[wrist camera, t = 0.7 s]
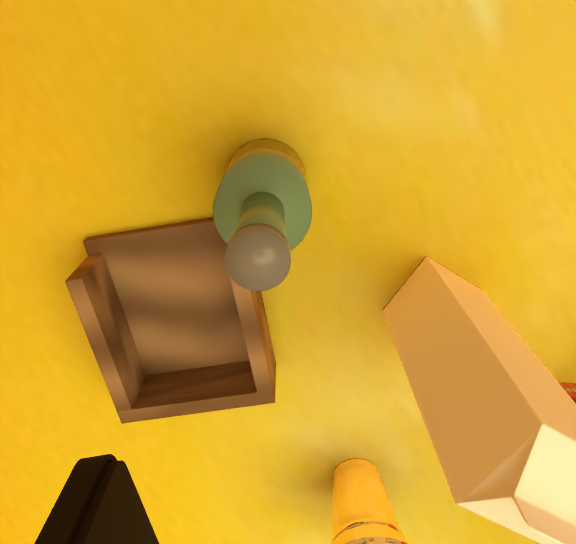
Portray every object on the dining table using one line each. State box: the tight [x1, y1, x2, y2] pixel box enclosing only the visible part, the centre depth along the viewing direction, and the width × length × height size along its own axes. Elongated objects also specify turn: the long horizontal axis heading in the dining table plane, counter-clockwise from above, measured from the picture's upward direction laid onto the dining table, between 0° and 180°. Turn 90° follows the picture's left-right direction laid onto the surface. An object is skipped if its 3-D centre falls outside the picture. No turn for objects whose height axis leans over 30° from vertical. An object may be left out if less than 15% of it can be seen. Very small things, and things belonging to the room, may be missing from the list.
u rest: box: [65, 218, 276, 423], centre depth 37 cm, size 14×12×5 cm
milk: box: [382, 257, 576, 544], centre depth 30 cm, size 6×6×22 cm
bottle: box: [213, 139, 312, 291], centre depth 29 cm, size 6×6×15 cm
